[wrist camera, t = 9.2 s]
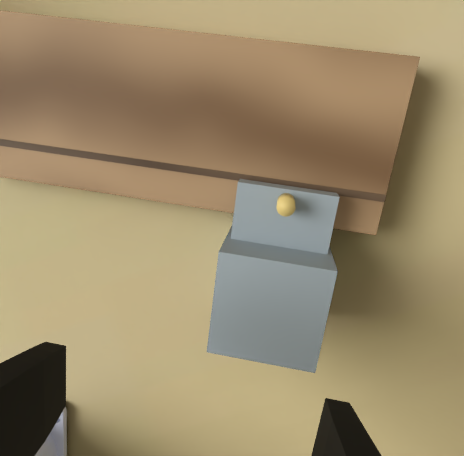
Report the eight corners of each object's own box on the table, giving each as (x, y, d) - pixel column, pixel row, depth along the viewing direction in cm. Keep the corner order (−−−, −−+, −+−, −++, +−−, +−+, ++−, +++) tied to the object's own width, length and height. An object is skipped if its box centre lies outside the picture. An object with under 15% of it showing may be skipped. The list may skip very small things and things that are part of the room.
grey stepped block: (308, 312, 20) (315, 373, 15) (225, 297, 20) (206, 352, 16) (334, 183, 18) (351, 207, 13) (242, 170, 18) (226, 188, 14)
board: (366, 222, 18) (376, 235, 16) (-23, 163, 20) (-56, 168, 18) (404, 63, 16) (420, 56, 14) (-33, 14, 18) (-72, 2, 16)
